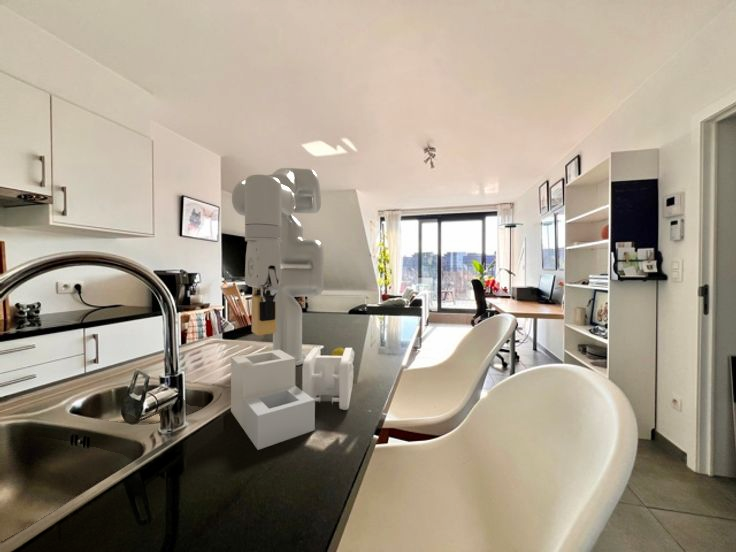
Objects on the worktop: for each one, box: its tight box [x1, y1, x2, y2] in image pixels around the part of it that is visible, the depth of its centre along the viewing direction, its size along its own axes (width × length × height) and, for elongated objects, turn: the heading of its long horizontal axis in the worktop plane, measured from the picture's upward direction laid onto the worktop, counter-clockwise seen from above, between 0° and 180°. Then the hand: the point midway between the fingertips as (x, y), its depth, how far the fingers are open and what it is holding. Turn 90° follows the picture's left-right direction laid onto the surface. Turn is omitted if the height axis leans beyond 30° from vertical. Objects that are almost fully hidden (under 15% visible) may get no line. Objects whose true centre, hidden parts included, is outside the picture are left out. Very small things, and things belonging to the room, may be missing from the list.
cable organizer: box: [301, 346, 355, 411], centre depth 74 cm, size 15×11×12 cm
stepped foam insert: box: [230, 350, 316, 451], centre depth 64 cm, size 18×11×12 cm, turn 38°
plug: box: [250, 295, 276, 336], centre depth 67 cm, size 4×4×8 cm
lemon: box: [330, 346, 345, 356], centre depth 93 cm, size 6×6×8 cm
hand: (263, 317), depth 67 cm, fingers closed on plug, 4 cm apart
